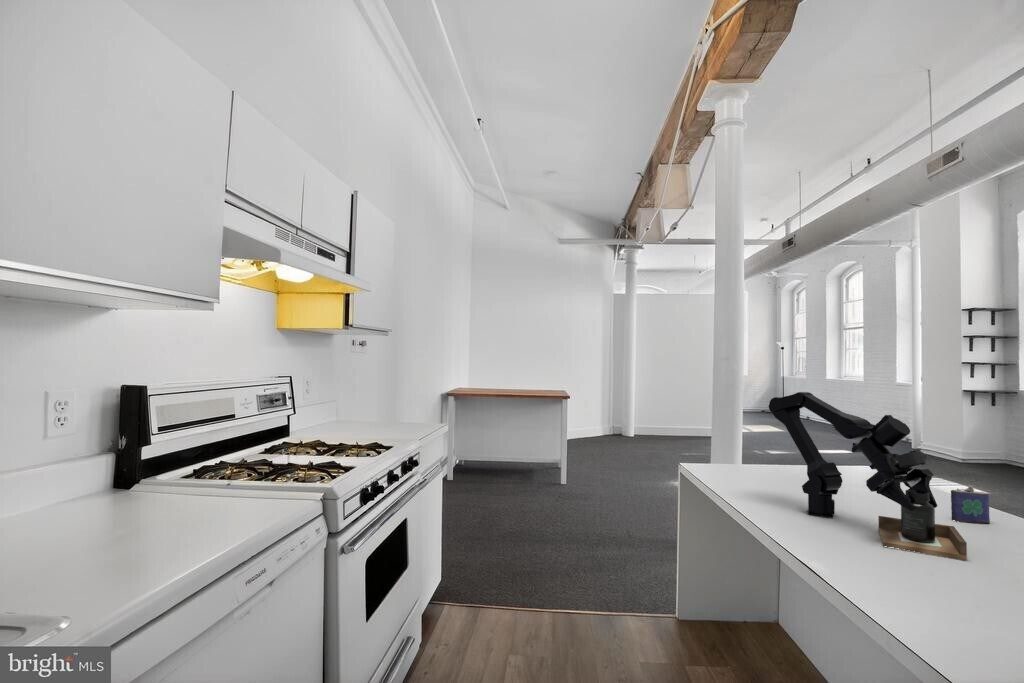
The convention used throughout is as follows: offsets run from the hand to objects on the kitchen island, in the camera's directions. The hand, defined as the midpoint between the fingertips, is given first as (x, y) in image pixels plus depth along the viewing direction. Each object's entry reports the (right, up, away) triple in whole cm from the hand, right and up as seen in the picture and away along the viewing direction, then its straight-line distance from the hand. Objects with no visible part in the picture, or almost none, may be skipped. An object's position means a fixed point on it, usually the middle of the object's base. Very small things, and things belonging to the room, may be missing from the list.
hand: (924, 508), depth 131 cm
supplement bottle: (-1, -8, +1) cm, 8 cm away
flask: (+31, -11, +22) cm, 40 cm away
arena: (-1, -10, +1) cm, 10 cm away
